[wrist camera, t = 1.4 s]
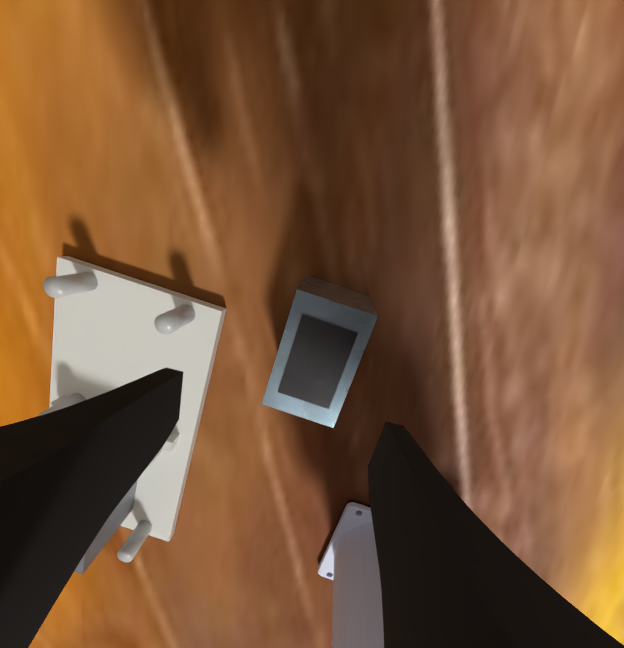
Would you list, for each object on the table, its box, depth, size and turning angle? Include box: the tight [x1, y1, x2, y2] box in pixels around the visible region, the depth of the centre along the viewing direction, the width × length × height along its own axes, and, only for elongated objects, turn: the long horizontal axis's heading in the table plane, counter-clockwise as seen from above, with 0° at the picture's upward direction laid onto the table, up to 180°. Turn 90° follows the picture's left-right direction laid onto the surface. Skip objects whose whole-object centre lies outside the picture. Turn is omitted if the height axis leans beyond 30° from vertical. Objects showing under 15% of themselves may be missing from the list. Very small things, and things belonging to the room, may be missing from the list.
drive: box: [262, 275, 378, 428], centre depth 18 cm, size 4×6×5 cm, turn 162°
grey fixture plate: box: [39, 256, 226, 574], centre depth 20 cm, size 11×21×6 cm, turn 162°
